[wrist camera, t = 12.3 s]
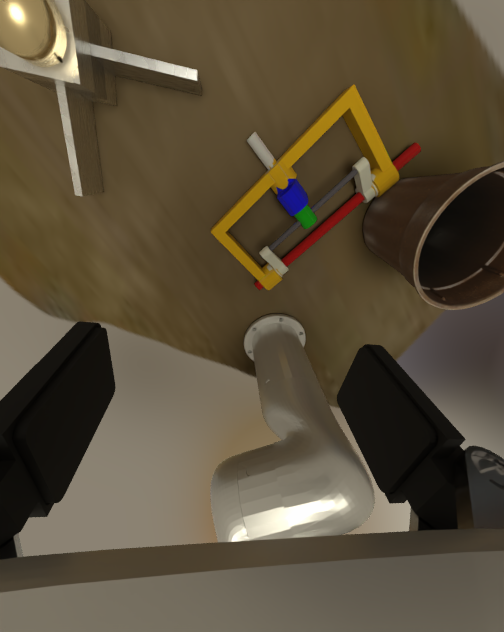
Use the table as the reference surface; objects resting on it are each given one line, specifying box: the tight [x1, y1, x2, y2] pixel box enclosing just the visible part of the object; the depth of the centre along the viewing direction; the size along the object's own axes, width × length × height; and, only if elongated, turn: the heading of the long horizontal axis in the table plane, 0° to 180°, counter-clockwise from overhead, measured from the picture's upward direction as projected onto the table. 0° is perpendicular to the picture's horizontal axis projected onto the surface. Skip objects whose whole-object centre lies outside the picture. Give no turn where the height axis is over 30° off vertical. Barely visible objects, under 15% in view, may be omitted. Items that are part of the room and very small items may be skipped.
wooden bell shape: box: [0, 0, 67, 67], centre depth 22 cm, size 5×5×11 cm
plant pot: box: [363, 161, 504, 310], centre depth 34 cm, size 16×16×16 cm
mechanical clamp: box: [211, 85, 421, 290], centre depth 34 cm, size 18×6×30 cm
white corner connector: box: [0, 0, 202, 196], centre depth 27 cm, size 16×16×9 cm
